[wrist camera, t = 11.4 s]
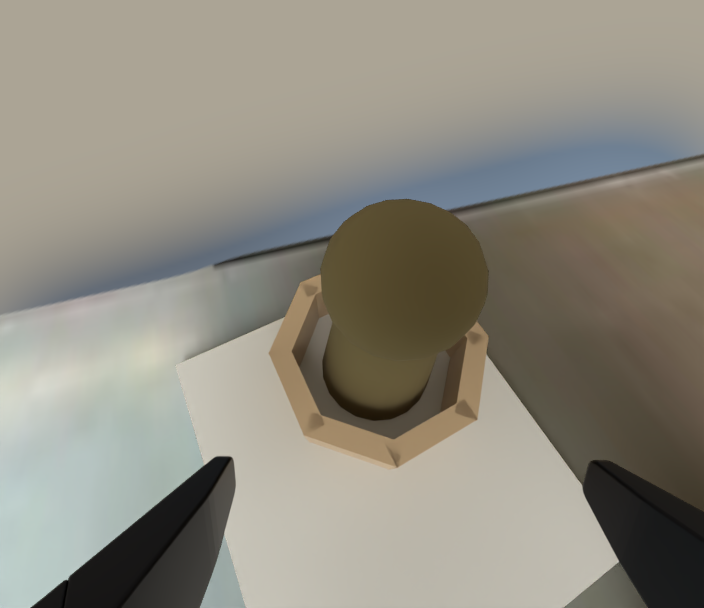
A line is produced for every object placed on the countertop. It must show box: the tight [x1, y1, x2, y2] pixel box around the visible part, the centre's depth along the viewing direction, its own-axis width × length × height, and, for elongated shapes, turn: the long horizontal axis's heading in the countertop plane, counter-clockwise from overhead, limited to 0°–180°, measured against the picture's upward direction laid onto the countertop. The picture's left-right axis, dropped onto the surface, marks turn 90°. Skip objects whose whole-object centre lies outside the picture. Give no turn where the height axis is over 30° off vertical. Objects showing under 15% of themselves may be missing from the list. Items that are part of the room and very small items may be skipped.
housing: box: [175, 274, 619, 608], centre depth 16 cm, size 18×16×4 cm
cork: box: [320, 199, 489, 421], centre depth 14 cm, size 6×6×11 cm
